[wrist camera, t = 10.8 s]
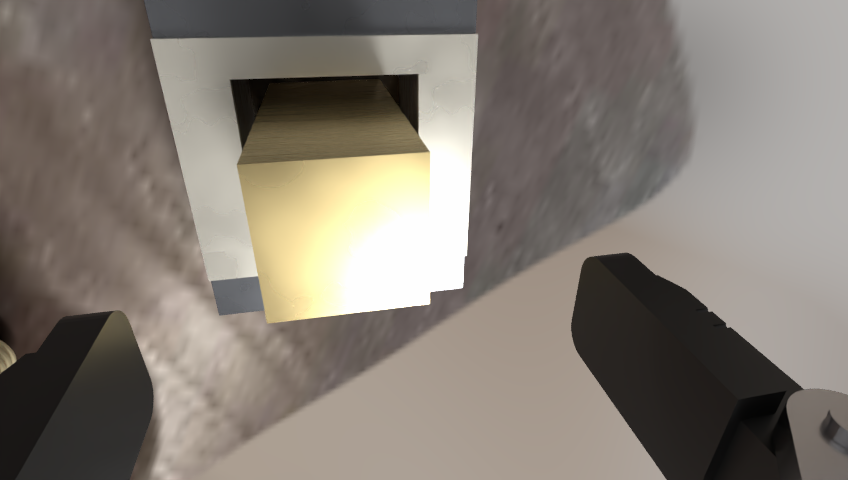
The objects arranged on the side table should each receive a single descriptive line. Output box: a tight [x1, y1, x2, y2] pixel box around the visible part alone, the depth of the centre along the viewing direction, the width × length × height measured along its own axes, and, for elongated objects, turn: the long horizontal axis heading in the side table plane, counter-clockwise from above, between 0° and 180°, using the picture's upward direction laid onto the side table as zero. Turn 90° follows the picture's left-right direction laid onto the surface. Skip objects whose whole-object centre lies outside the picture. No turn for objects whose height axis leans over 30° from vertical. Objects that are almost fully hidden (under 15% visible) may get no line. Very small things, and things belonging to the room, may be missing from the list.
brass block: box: [237, 79, 430, 323], centre depth 17 cm, size 4×4×10 cm
